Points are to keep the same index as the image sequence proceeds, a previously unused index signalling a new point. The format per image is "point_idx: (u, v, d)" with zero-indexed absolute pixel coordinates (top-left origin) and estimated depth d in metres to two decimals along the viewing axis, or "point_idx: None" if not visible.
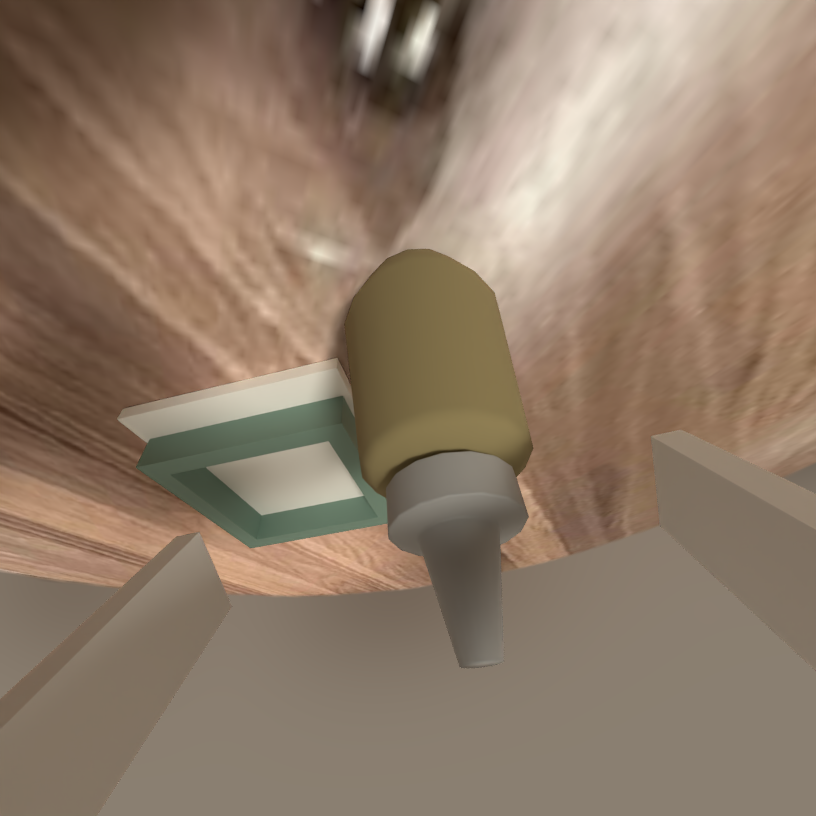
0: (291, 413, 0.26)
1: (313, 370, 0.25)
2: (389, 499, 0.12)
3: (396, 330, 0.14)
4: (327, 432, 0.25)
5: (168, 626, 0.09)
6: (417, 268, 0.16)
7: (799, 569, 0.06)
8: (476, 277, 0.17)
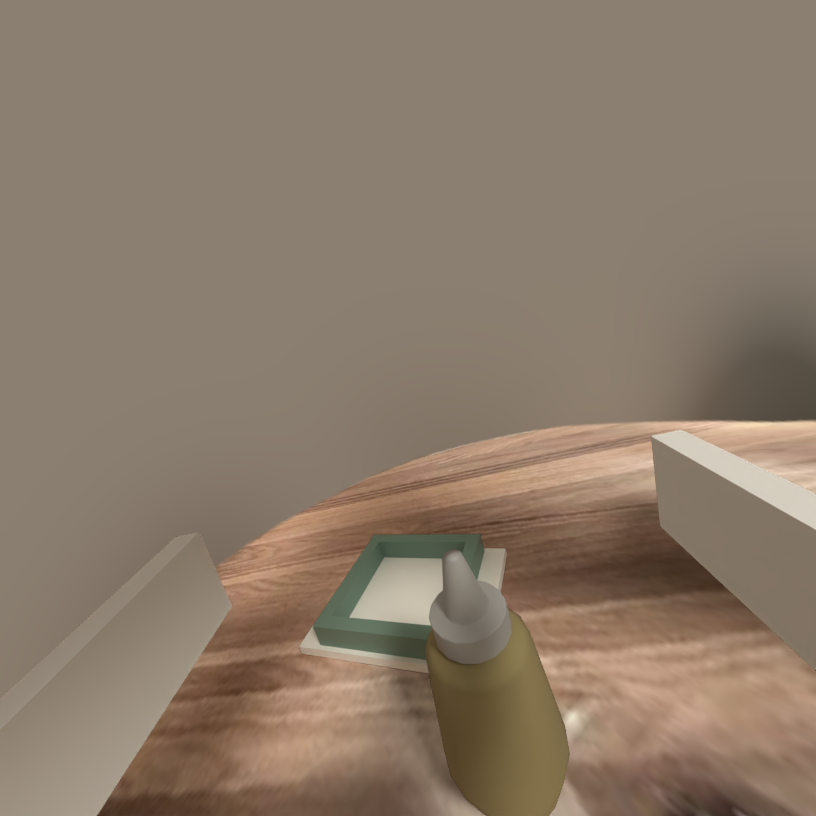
0: None
1: None
2: None
3: (549, 688, 0.23)
4: None
5: (168, 626, 0.09)
6: (565, 752, 0.23)
7: (799, 569, 0.06)
8: (543, 800, 0.21)
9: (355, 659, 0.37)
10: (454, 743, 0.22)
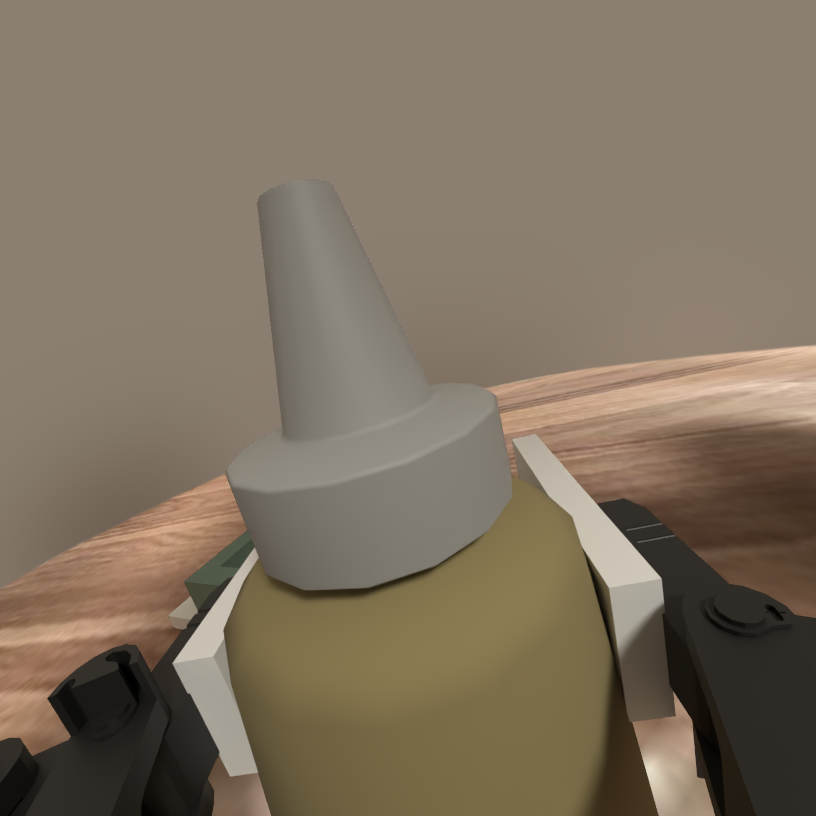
0: None
1: None
2: None
3: None
4: None
5: None
6: None
7: None
8: None
9: None
10: None
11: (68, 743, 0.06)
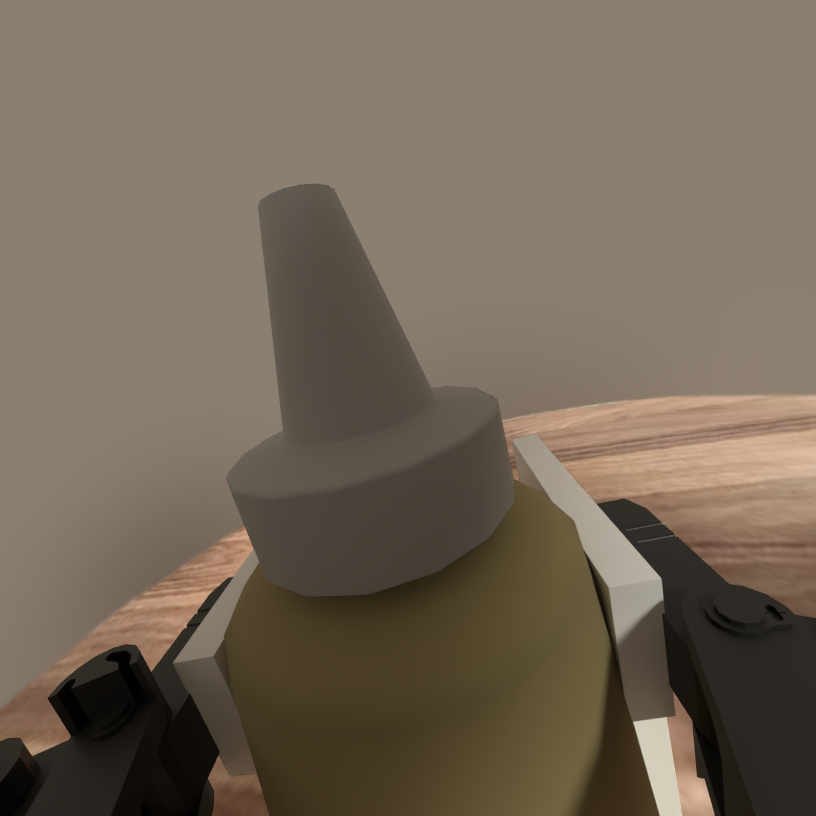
0: None
1: None
2: None
3: None
4: None
5: None
6: None
7: None
8: None
9: None
10: None
11: (68, 743, 0.06)
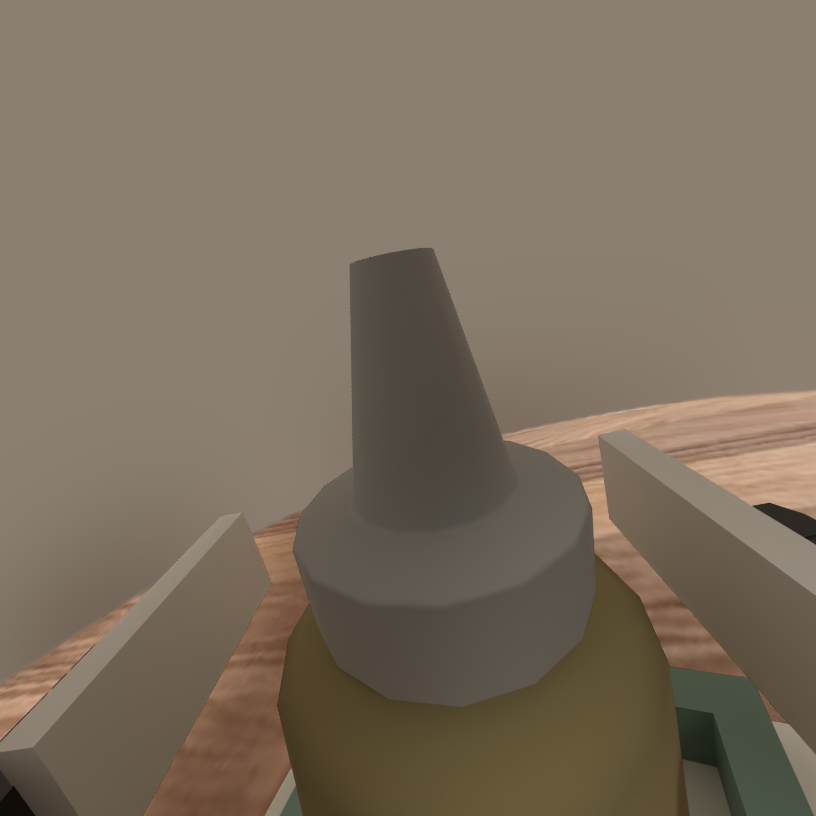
0: None
1: None
2: None
3: None
4: None
5: (222, 596, 0.10)
6: None
7: (700, 552, 0.07)
8: None
9: None
10: None
11: None
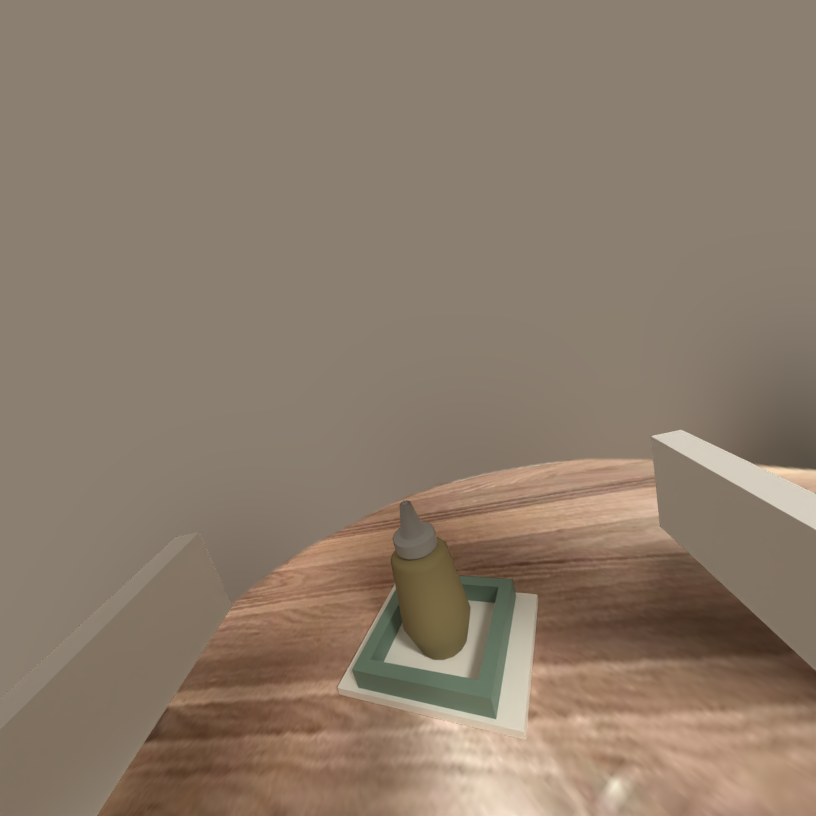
0: (501, 675, 0.37)
1: (526, 715, 0.34)
2: None
3: (459, 581, 0.41)
4: (486, 684, 0.35)
5: (168, 626, 0.09)
6: (466, 616, 0.41)
7: (799, 569, 0.06)
8: (450, 635, 0.39)
9: (393, 705, 0.39)
10: (404, 605, 0.40)
11: None
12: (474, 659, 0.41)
